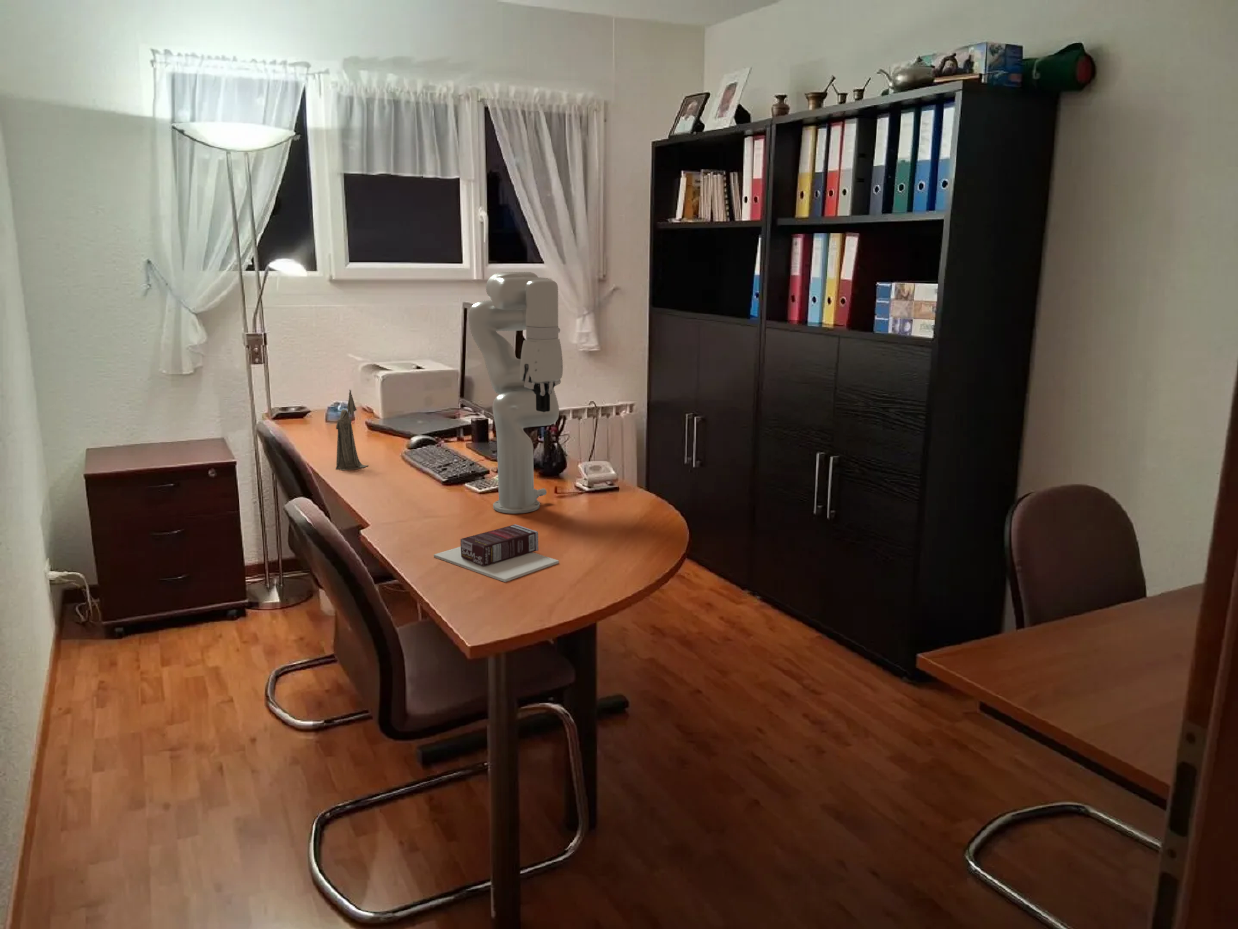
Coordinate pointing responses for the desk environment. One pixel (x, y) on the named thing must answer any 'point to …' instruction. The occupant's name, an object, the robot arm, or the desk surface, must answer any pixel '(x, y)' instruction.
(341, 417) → the wizard figurine
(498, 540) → the supplement box
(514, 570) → the mat
